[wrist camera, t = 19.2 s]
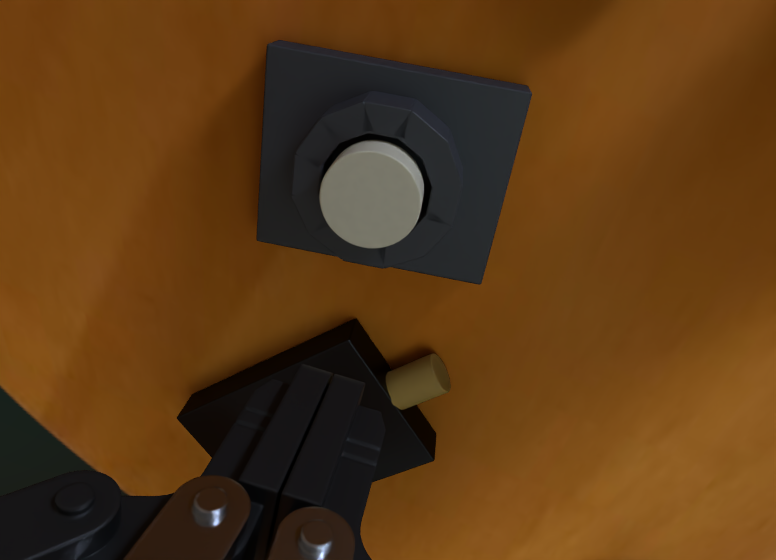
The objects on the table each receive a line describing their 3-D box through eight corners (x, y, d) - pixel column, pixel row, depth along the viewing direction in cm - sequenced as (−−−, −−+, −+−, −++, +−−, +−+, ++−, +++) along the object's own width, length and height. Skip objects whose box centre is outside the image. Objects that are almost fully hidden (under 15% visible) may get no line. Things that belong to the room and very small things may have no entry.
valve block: (400, 296, 30) (396, 318, 29) (479, 418, 34) (480, 445, 32) (191, 393, 35) (175, 418, 33) (276, 492, 38) (267, 519, 36)
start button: (432, 149, 23) (430, 161, 22) (414, 240, 25) (411, 257, 23) (334, 130, 23) (324, 141, 22) (323, 222, 25) (314, 238, 24)
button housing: (528, 85, 25) (538, 103, 21) (480, 269, 29) (482, 310, 26) (278, 39, 25) (247, 49, 22) (266, 227, 30) (239, 262, 26)
